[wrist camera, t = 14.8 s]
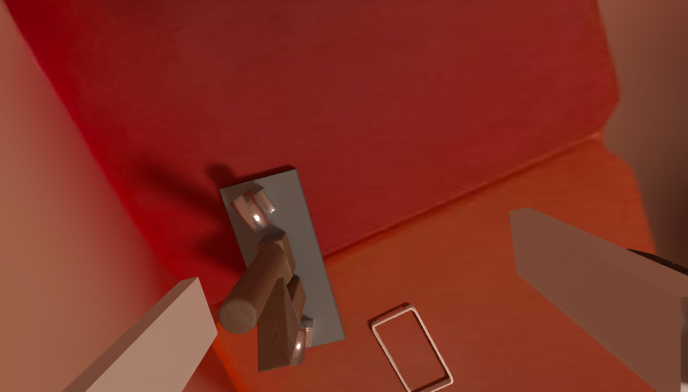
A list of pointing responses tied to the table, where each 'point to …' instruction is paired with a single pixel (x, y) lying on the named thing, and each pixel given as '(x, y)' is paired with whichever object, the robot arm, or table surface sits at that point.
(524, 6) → the table surface
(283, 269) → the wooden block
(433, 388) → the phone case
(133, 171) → the table surface
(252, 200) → the grey block
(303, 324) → the grey knob
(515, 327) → the table surface
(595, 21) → the table surface
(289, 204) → the plate
